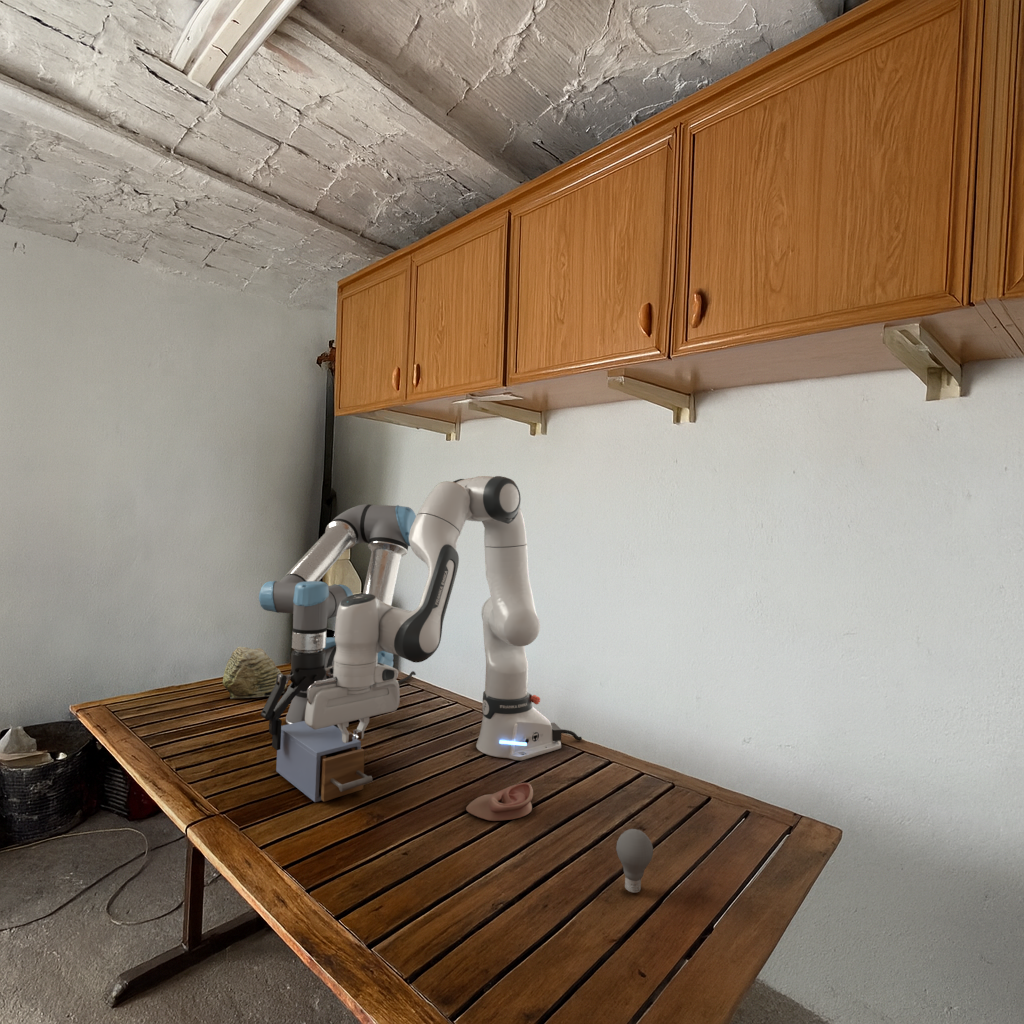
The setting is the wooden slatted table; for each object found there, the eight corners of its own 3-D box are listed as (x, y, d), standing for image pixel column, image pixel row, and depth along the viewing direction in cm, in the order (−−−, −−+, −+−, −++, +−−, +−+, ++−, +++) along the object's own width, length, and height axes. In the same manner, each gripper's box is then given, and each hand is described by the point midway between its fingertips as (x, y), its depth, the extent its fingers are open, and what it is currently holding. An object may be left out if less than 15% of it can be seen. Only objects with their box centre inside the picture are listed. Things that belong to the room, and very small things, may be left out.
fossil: (218, 695, 195) (220, 647, 195) (278, 685, 208) (279, 640, 207) (228, 703, 189) (230, 653, 188) (289, 692, 201) (290, 645, 201)
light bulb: (610, 879, 108) (613, 822, 108) (644, 879, 109) (647, 822, 109) (619, 902, 102) (622, 840, 102) (655, 901, 103) (658, 840, 103)
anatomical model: (462, 797, 127) (476, 773, 139) (461, 816, 128) (476, 791, 139) (527, 806, 125) (536, 781, 136) (526, 826, 125) (535, 800, 136)
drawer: (376, 798, 132) (377, 757, 132) (336, 811, 126) (338, 769, 126) (323, 761, 149) (325, 726, 149) (286, 772, 143) (287, 734, 142)
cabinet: (359, 788, 138) (361, 741, 138) (314, 802, 131) (316, 752, 131) (318, 759, 152) (319, 717, 152) (276, 771, 145) (277, 726, 145)
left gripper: (261, 660, 134) (257, 759, 135) (365, 645, 152) (361, 734, 152) (247, 653, 140) (243, 748, 140) (349, 640, 157) (345, 725, 157)
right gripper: (315, 686, 121) (312, 757, 121) (404, 669, 135) (402, 733, 136) (300, 678, 126) (297, 747, 126) (388, 663, 140) (386, 725, 140)
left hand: (304, 741), depth 146 cm, fingers open, 13 cm apart
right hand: (352, 740), depth 131 cm, fingers closed
